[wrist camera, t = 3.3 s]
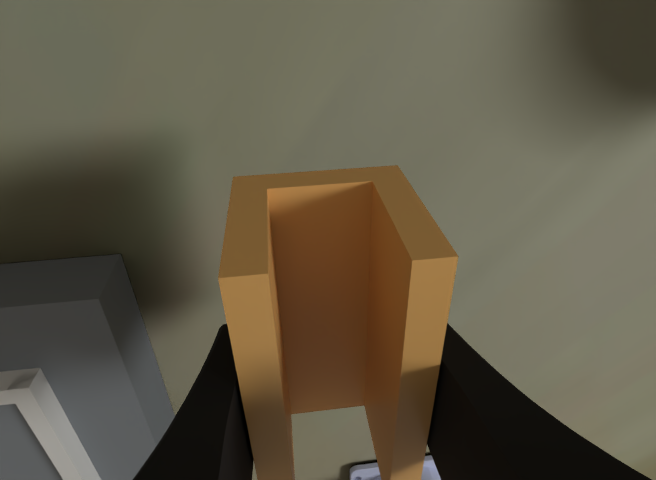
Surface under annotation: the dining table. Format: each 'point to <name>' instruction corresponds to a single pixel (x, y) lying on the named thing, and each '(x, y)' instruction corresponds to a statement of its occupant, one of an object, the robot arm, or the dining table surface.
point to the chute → (336, 308)
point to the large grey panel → (76, 373)
